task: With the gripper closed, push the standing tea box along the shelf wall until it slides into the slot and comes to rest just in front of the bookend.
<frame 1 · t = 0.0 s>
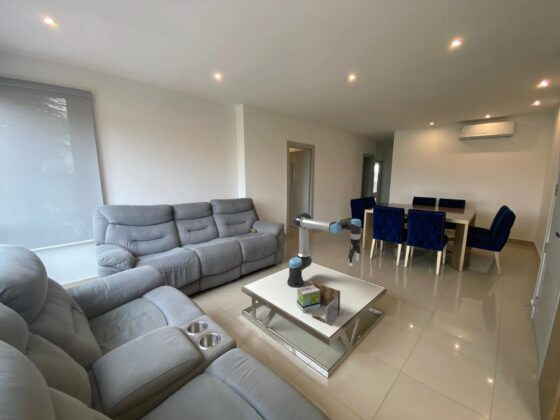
hand: (354, 263, 187), 28 cm above the table, fingers open, 13 cm apart
tea box: (308, 307, 176), on the table
shelf wall: (317, 310, 171), on the table
bookend: (332, 317, 164), on the table
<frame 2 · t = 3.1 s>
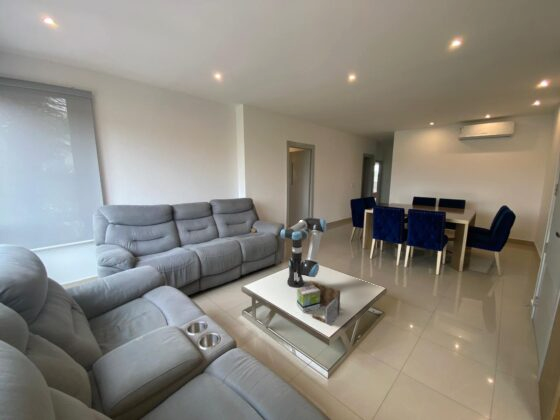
hand: (296, 280, 180), 18 cm above the table, fingers closed
nothing on the table moved.
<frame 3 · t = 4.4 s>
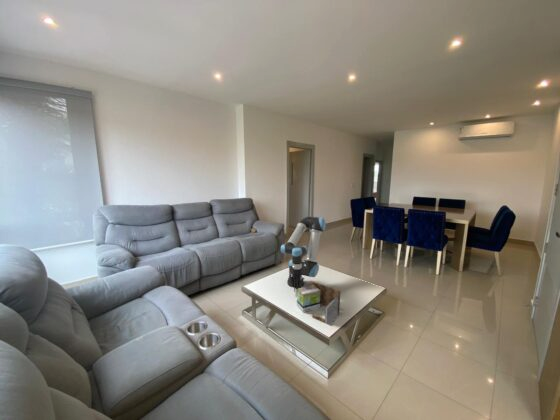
hand: (296, 295, 182), 5 cm above the table, fingers closed
nothing on the table moved.
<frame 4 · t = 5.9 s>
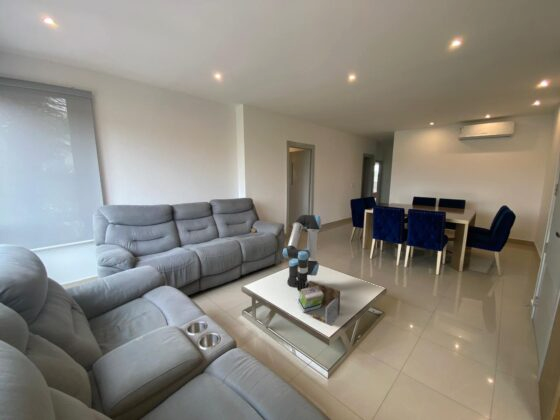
hand: (301, 299, 179), 4 cm above the table, fingers closed
tea box: (308, 305, 176), point 1 cm above the table, touching gripper, hand
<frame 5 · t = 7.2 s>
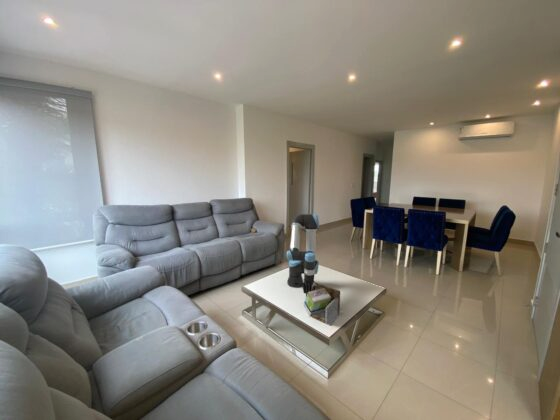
hand: (308, 302, 175), 4 cm above the table, fingers closed
tea box: (314, 308, 172), point 1 cm above the table, touching gripper, hand
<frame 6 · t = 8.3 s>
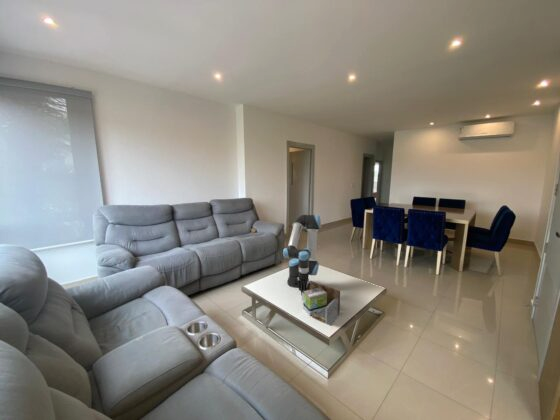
hand: (303, 299, 179), 4 cm above the table, fingers closed
tea box: (314, 310, 173), on the table
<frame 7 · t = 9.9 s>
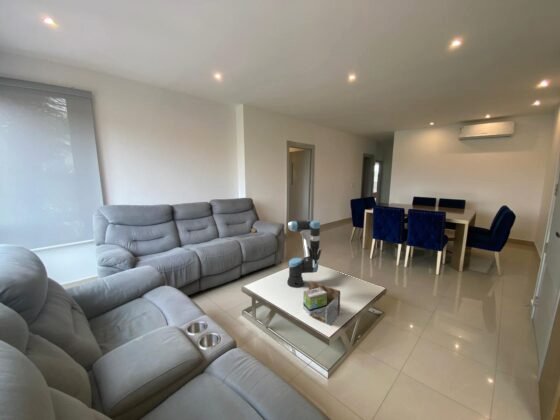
hand: (314, 266, 191), 24 cm above the table, fingers closed
nothing on the table moved.
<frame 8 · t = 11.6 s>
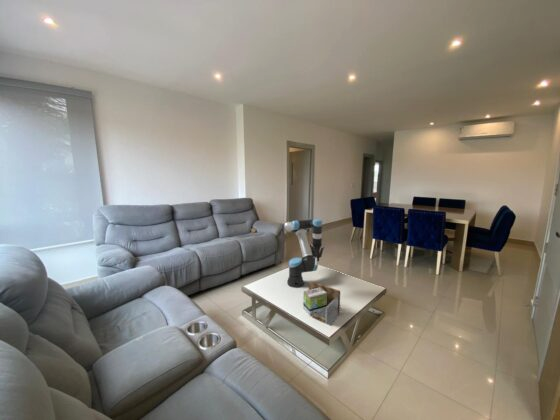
hand: (316, 264, 195), 24 cm above the table, fingers closed
nothing on the table moved.
at the end: tea box inside the target area (2.0 cm from its centre), on the table; tea box tilted 0° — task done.
